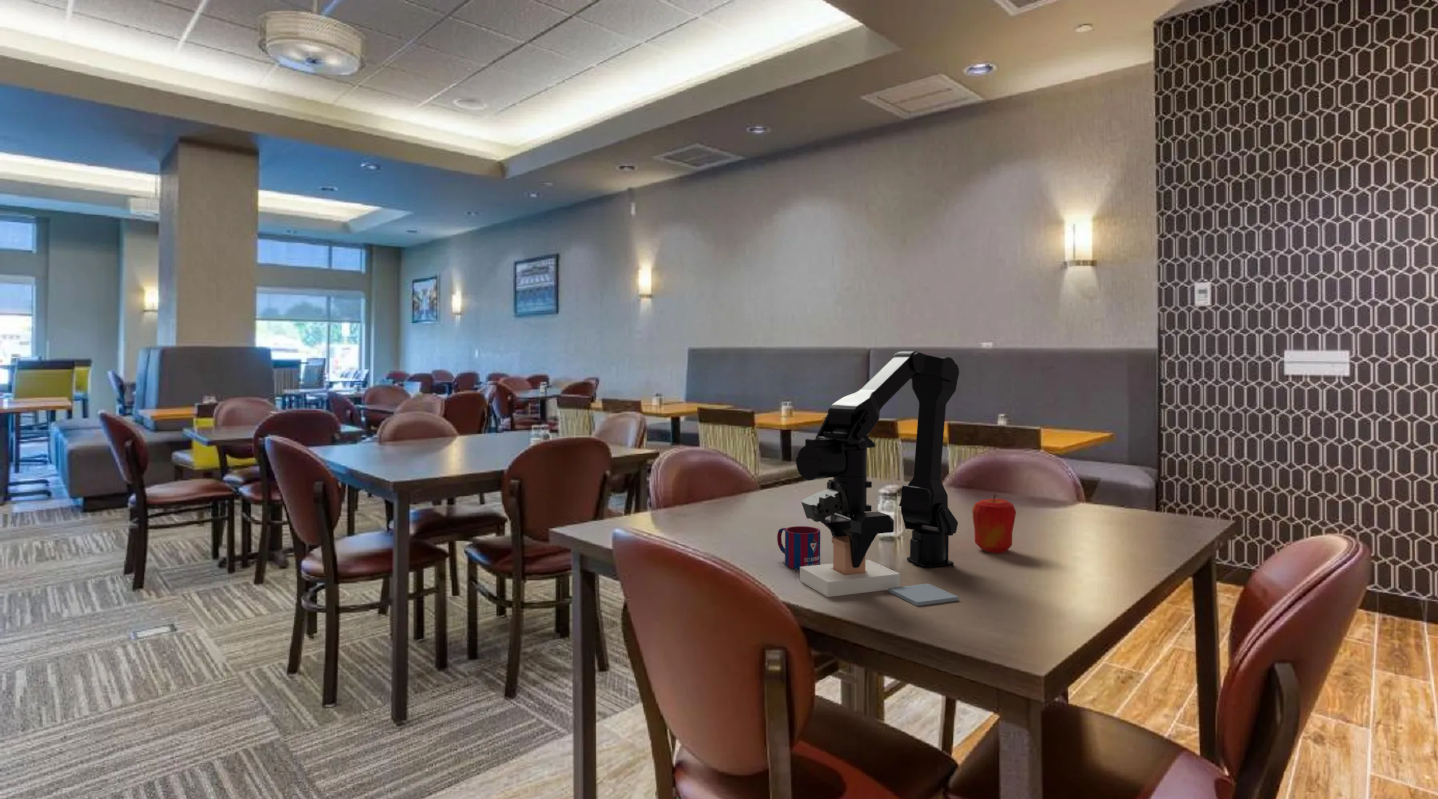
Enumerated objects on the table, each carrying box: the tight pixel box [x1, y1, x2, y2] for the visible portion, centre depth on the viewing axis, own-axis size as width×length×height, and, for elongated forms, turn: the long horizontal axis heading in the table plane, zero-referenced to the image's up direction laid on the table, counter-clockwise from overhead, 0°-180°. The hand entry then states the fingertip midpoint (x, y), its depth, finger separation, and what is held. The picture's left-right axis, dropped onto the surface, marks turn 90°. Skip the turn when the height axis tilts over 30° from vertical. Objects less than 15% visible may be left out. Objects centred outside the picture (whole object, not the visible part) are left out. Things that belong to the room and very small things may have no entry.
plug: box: [831, 536, 866, 575], centre depth 128 cm, size 4×4×8 cm
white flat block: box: [799, 559, 901, 598], centre depth 128 cm, size 14×10×2 cm
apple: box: [971, 494, 1017, 554], centre depth 152 cm, size 9×8×12 cm
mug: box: [776, 525, 821, 570], centre depth 143 cm, size 7×10×7 cm
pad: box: [887, 583, 960, 607], centre depth 122 cm, size 8×8×1 cm
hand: (849, 564), depth 128 cm, fingers closed on plug, 4 cm apart
